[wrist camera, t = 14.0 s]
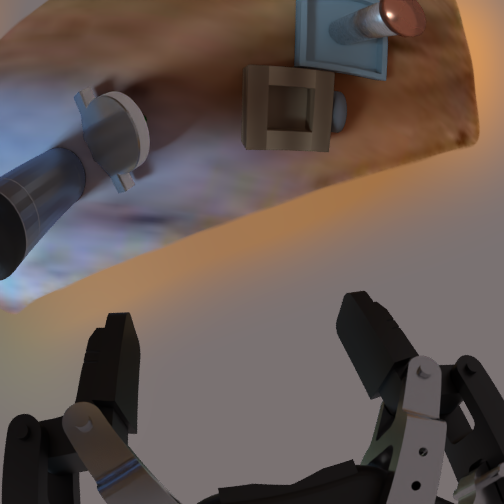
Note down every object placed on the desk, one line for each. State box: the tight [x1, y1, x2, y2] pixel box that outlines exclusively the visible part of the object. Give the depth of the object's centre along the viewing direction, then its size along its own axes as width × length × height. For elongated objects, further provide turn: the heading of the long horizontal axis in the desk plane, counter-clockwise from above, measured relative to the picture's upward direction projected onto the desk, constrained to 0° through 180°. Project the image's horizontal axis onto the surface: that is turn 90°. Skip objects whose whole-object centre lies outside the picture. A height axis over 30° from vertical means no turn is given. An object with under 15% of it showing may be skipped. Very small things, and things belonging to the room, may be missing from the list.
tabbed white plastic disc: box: [74, 87, 150, 193], centre depth 31 cm, size 15×8×11 cm
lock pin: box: [329, 0, 426, 45], centre depth 23 cm, size 5×5×15 cm
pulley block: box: [241, 65, 347, 152], centre depth 33 cm, size 12×10×6 cm
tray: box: [294, 0, 388, 81], centre depth 29 cm, size 13×13×2 cm
